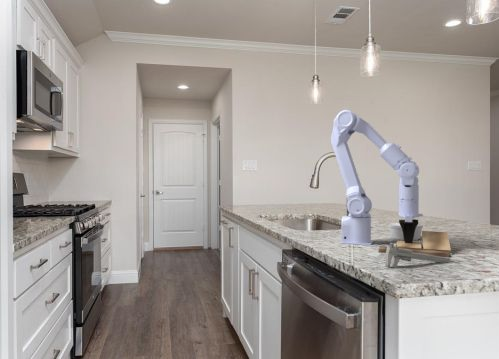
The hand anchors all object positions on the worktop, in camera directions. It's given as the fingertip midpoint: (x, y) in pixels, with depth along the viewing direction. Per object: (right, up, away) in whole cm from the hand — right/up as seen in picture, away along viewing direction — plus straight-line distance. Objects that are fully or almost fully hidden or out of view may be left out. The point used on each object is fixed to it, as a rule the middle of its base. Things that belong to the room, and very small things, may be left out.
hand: (408, 242), depth 120 cm
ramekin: (+6, -2, +17) cm, 18 cm away
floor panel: (-3, -1, -11) cm, 12 cm away
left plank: (-1, -1, -3) cm, 3 cm away
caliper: (-7, -2, -24) cm, 25 cm away
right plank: (+6, +1, -6) cm, 8 cm away
